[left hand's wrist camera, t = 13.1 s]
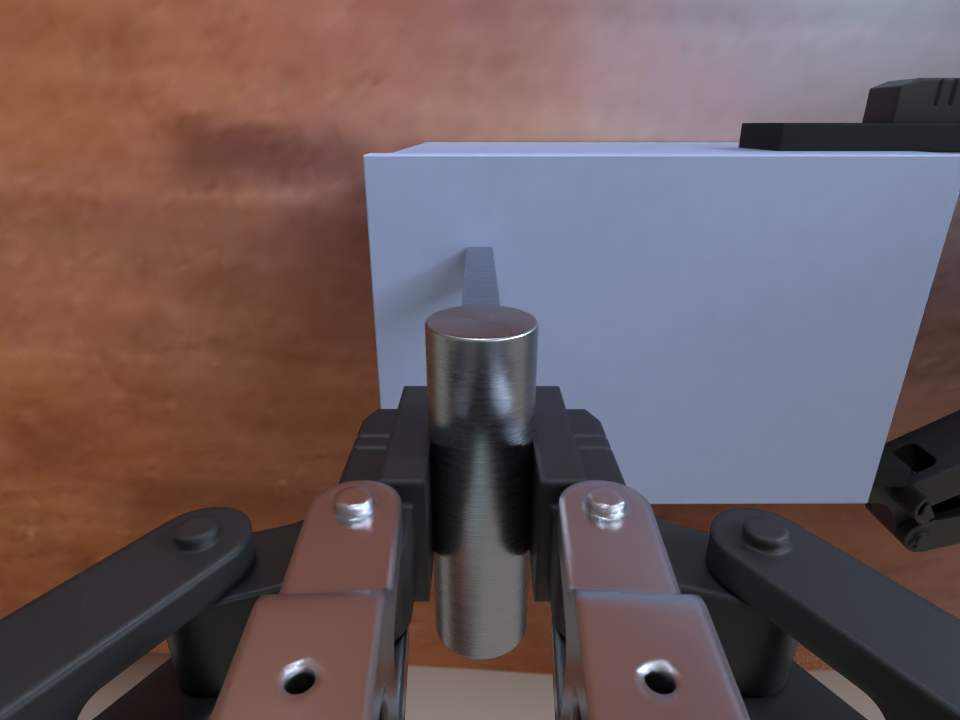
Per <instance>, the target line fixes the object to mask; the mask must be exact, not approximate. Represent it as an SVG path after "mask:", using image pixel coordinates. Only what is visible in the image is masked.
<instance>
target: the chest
mask: <svg viewBox="0 0 960 720" xmlns="http://www.w3.org/2000/svg"><path fill="white" fill-rule="evenodd" d="M393 153H933V152H917V151H770V150H759V149H748V148H739V142H424V143H422V144H420V145H417V146H413V147H410V148H406V149H403V150H400V151H396V152H393Z"/></svg>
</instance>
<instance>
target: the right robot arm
mask: <svg viewBox="0 0 960 720" xmlns="http://www.w3.org/2000/svg"><path fill="white" fill-rule="evenodd" d="M739 148H748V149H759V150H770V151H917V152H960V78H917V79H907V80H898V81H889V82H886V83H884V84H881V85H879V86H876V87H874V88H871V89H870V91H869V95H868V100H867V104H866V109H865V113H864V117H863V122H862V123H742V129H741V136H740V142H739ZM913 471H914V472H916V473H914V472H913ZM865 506H866V508H867V509H868V510H869V511H870V512H871V513H872V514H873V515H874V516H875V517H876V518H877V519H878V520H879V521H880V522H881V523H882V524H883V525H884V526H885V527H886V528H887V529H888V530H889V531H890V532H891V533H892V534H893V535H894V536H895V537H896V538H897V539H898V540H899V541H900V542H901V543H902V544H903V545H904V546H905V547H906V548H907V549H908V550H910V551H913V552H922V551H926V550H931V549H935V548H940V547H944V546H949V545H953V544H958V543H960V410H959V411H957V412H954V413H952V414H950V415H948V416H945V417H943V418H941V419H939V420H937V421H934V422H932V423H930V424H928V425H925V426H923V427H921V428H919V429H917V430H914V431H912V432H910V433H908V434H905V435H903V436H901V437H899V438H897V439H894V440H892V441H890V442H888V443H885V445H884V449H883V452H882V455H881V459H880V462H879V466H878V469H877V472H876V476H875V479H874V483H873V486H872V489H871V493H870V496H869V499H868V502H867V503H865Z"/></svg>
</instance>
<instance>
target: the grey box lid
mask: <svg viewBox="0 0 960 720" xmlns="http://www.w3.org/2000/svg"><path fill="white" fill-rule="evenodd" d="M363 167H364V181H365V196H366V210H367V224H368V238H369V252H370V266H371V280H372V294H373V309H374V323H375V337H376V351H377V365H378V379H379V393H380V407H381V409H398V405H399V402H400V398H401V395H402V391H403V388H404V386H427V399H428V426H429V439H430V443H431V470H432V498H433V526H434V559H433V561H434V588H435V615H436V629H437V632H438V635H439V637H440V639H441V640H442V642H443V643H444V644H445V645H446V646H447V647H448V648H449V649H450V650H452V651H453V652H455V653H456V654H458V655H461V656H463V657H466V658H470V659H478V660H485V659H493V658H497V657H500V656H502V655H505V654H506V653H508V652H510V651H511V650H513V649H514V648H515V647H516V646H517V645H518V644H519V642H520V641H521V640H522V638H523V636H524V634H525V631H526V627H527V606H528V581H529V534H530V508H531V483H532V457H533V439H534V429H535V403H536V386H559V388H560V391H561V394H562V397H563V401H564V404H565V407H566V409H586V410H587V411H588V412H589V413H591V414H592V415H593V416H594V417H596V418H597V419H598V420H599V421H600V422H601V424H602V427H603V429H604V432H605V434H606V438H607V439H608V442H609V444H610V447H611V450H612V452H613V454H614V457H615V459H616V462H617V464H618V467H619V469H620V472H621V474H622V477H623V479H624V481H625V484H626V486H628V487H630V488H632V489H634V490H636V491H637V492H639V493H640V494H641V495H643V496H644V497H645V498H646V499H647V501H648V502H649V503H650V504H815V503H867V502H868V499H869V496H870V493H871V489H872V486H873V483H874V479H875V476H876V472H877V469H878V466H879V462H880V459H881V455H882V452H883V449H884V445H885V442H886V439H887V435H888V432H889V428H890V425H891V422H892V418H893V415H894V412H895V408H896V405H897V401H898V398H899V395H900V391H901V388H902V384H903V381H904V378H905V374H906V371H907V368H908V364H909V361H910V357H911V354H912V351H913V347H914V344H915V341H916V337H917V334H918V330H919V327H920V324H921V320H922V317H923V314H924V310H925V307H926V303H927V300H928V297H929V293H930V290H931V286H932V283H933V280H934V276H935V273H936V270H937V266H938V263H939V259H940V256H941V253H942V249H943V246H944V243H945V239H946V236H947V232H948V229H949V226H950V222H951V219H952V215H953V212H954V209H955V205H956V202H957V199H958V195H959V192H960V154H951V153H369V154H365V155H363Z"/></svg>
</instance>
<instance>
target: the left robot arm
mask: <svg viewBox="0 0 960 720" xmlns="http://www.w3.org/2000/svg"><path fill="white" fill-rule="evenodd" d="M529 555H530V564H531V573H532V581H533V590H534V599H535V601H550V603H551V610H552V627H551V654H552V671H553V688H554V705H555V720H867V719H866V718H865V717H863V716H862V715H861V714H860V713H858V712H857V711H856V710H855V709H853V708H852V707H851V706H850V705H848V704H847V703H846V702H844V701H843V700H842V699H841V698H839V697H838V696H837V695H836V694H834V693H833V692H832V691H830V690H829V689H828V688H827V687H826V686H824V685H823V684H822V683H820V682H819V681H818V680H817V679H815V678H814V677H813V676H812V675H810V674H809V673H808V672H807V671H805V670H804V669H803V668H802V667H800V666H799V665H798V664H796V663H795V662H794V661H793V658H794V654H795V651H796V647H797V643H798V642H799V643H800V644H802V645H803V646H804V647H806V648H807V649H808V650H810V651H811V652H812V653H814V654H815V655H816V656H817V657H819V658H820V659H821V660H823V661H824V662H825V663H827V664H828V665H829V666H831V667H832V668H833V669H835V670H836V671H837V672H839V673H840V674H841V675H843V676H844V677H845V678H847V679H848V680H849V681H851V682H852V683H853V684H855V685H856V686H857V687H858V688H860V689H861V690H862V691H864V692H865V693H866V694H867V695H868V696H869V697H870V698H871V699H872V700H873V701H874V702H875V703H876V705H877V706H878V707H879V709H880V710H881V712H882V713H883V715H884V717H885V719H886V720H960V620H959V619H958V618H956V617H954V616H952V615H951V614H949V613H947V612H946V611H944V610H942V609H941V608H939V607H937V606H935V605H934V604H932V603H930V602H929V601H927V600H925V599H923V598H922V597H920V596H918V595H917V594H915V593H913V592H912V591H910V590H908V589H906V588H905V587H903V586H901V585H900V584H898V583H896V582H894V581H893V580H891V579H889V578H888V577H886V576H884V575H882V574H881V573H879V572H877V571H876V570H874V569H872V568H871V567H869V566H867V565H865V564H864V563H862V562H860V561H859V560H857V559H855V558H853V557H852V556H850V555H848V554H847V553H845V552H843V551H842V550H840V549H838V548H836V547H835V546H833V545H831V544H830V543H828V542H826V541H824V540H823V539H821V538H819V537H818V536H816V535H814V534H813V533H811V532H809V531H807V530H806V529H804V528H802V527H801V526H799V525H797V524H795V523H794V522H792V521H790V520H788V519H786V518H784V517H781V516H779V515H776V514H773V513H770V512H766V511H762V510H756V509H745V508H742V509H732V510H727V511H725V512H722V513H720V514H719V515H717V516H716V517H715V518H714V520H713V521H712V524H711V530H710V532H705V531H701V530H696V529H691V528H686V527H682V526H677V525H674V524H670V523H667V522H664V521H662V520H660V519H657V518H655V516H654V513H653V510H652V507H651V505H650V503H649V502H648V501H647V499H646V498H645V497H644V496H643V495H641V494H640V493H639V492H637V491H636V490H634V489H632V488H630V487H628V486H626V484H625V481H624V479H623V477H622V474H621V472H620V469H619V467H618V464H617V462H616V459H615V457H614V454H613V452H612V450H611V447H610V444H609V442H608V439H607V438H606V434H605V432H604V429H603V427H602V424H601V422H600V421H599V420H598V419H597V418H596V417H594V416H593V415H592V414H591V413H589V412H588V411H587V410H586V409H566V407H565V404H564V401H563V397H562V394H561V391H560V388H559V386H536V403H535V429H534V439H533V457H532V483H531V508H530V534H529ZM433 559H434V526H433V498H432V470H431V443H430V439H429V426H428V399H427V386H404V388H403V391H402V395H401V398H400V402H399V405H398V409H377V410H376V411H375V412H374V413H372V414H371V415H370V416H369V417H368V418H366V419H365V420H364V421H363V423H362V425H361V428H360V430H359V433H358V438H356V440H355V443H354V445H353V450H352V451H351V453H350V456H349V458H348V461H347V463H346V466H345V468H344V471H343V474H342V476H341V479H340V481H339V484H337V485H335V486H332V487H330V488H328V489H326V490H324V491H323V492H321V493H320V494H319V495H317V496H316V497H315V498H314V499H313V501H312V502H311V503H310V505H309V508H308V510H307V513H306V516H305V519H304V520H302V521H300V522H297V523H294V524H290V525H286V526H282V527H277V528H273V529H268V530H263V531H258V532H253V533H252V527H251V522H250V520H249V518H248V517H247V516H246V515H245V514H244V513H242V512H241V511H239V510H236V509H232V508H227V507H211V508H204V509H199V510H195V511H191V512H188V513H185V514H183V515H180V516H178V517H176V518H174V519H172V520H170V521H168V522H166V523H165V524H163V525H161V526H159V527H158V528H156V529H154V530H153V531H151V532H149V533H147V534H146V535H144V536H142V537H141V538H139V539H137V540H136V541H134V542H132V543H130V544H129V545H127V546H125V547H124V548H122V549H120V550H118V551H117V552H115V553H113V554H112V555H110V556H108V557H107V558H105V559H103V560H101V561H100V562H98V563H96V564H95V565H93V566H91V567H89V568H88V569H86V570H84V571H83V572H81V573H79V574H78V575H76V576H74V577H72V578H71V579H69V580H67V581H66V582H64V583H62V584H60V585H59V586H57V587H55V588H54V589H52V590H50V591H49V592H47V593H45V594H43V595H42V596H40V597H38V598H37V599H35V600H33V601H31V602H30V603H28V604H26V605H25V606H23V607H21V608H20V609H18V610H16V611H14V612H13V613H11V614H9V615H8V616H6V617H4V618H2V619H1V620H0V720H77V719H78V716H79V714H80V712H81V710H82V708H83V707H84V706H85V704H86V703H87V701H88V700H89V699H90V698H91V697H92V696H93V695H94V694H95V693H96V692H97V691H98V690H99V689H100V688H102V687H103V686H104V685H106V684H107V683H108V682H110V681H111V680H112V679H113V678H115V677H116V676H117V675H119V674H120V673H121V672H123V671H124V670H125V669H127V668H128V667H129V666H131V665H132V664H133V663H135V662H136V661H137V660H139V659H140V658H141V657H143V656H144V655H145V654H147V653H148V652H149V651H150V650H152V649H153V648H154V647H156V646H157V645H158V644H160V643H161V642H162V641H164V640H165V639H167V643H168V646H169V650H170V654H171V658H170V659H169V660H167V661H166V662H165V663H164V664H162V665H161V666H160V667H159V668H157V669H156V670H155V671H154V672H152V673H151V674H150V675H148V676H147V677H146V678H145V679H143V680H142V681H141V682H140V683H138V684H137V685H136V686H134V687H133V688H132V689H131V690H129V691H128V692H127V693H126V694H124V695H123V696H122V697H121V698H119V699H118V700H117V701H116V702H114V703H113V704H112V705H110V706H109V707H108V708H107V709H105V710H104V711H103V712H102V713H100V714H99V715H98V716H97V717H95V718H94V719H93V720H405V706H406V688H407V671H408V655H409V624H410V622H411V618H412V611H413V604H414V601H429V598H430V588H431V578H432V569H433Z"/></svg>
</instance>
